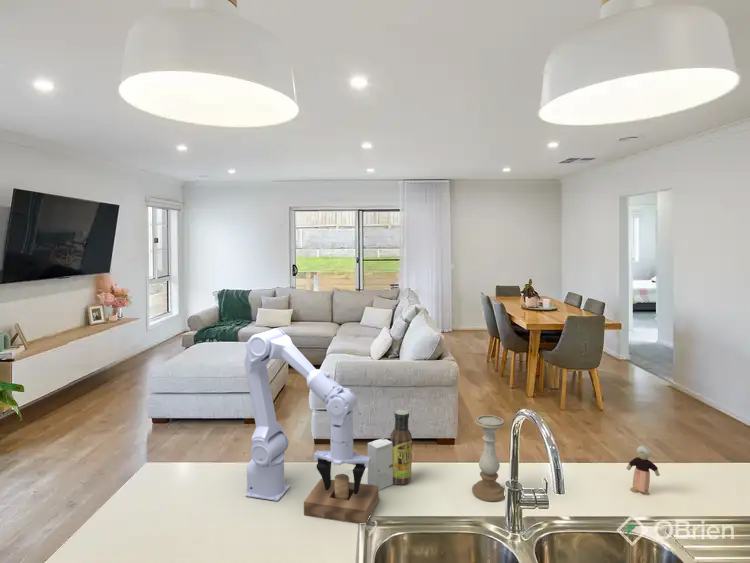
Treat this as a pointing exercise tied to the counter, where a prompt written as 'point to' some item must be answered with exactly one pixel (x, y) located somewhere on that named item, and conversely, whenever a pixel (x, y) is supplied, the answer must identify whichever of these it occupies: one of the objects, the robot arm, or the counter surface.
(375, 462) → the skincare box
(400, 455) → the sauce bottle
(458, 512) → the counter surface
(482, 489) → the candle holder
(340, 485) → the oak peg
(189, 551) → the counter surface
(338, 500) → the walnut board
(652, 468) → the grandmother figurine
